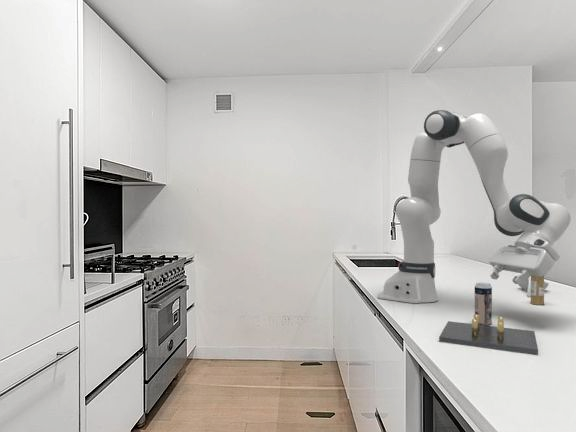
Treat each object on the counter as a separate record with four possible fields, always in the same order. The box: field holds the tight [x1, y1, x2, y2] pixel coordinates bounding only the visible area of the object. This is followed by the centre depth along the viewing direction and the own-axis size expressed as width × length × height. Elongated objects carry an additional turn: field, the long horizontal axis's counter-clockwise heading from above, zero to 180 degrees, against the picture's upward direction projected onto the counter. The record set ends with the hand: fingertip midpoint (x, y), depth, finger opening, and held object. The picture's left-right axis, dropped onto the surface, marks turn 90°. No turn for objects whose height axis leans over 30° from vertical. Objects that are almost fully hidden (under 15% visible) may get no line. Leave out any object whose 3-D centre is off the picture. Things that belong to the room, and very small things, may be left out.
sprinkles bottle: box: [529, 275, 545, 306], centre depth 156 cm, size 5×5×14 cm
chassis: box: [438, 314, 539, 356], centre depth 113 cm, size 22×18×5 cm
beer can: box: [473, 282, 493, 326], centre depth 128 cm, size 5×5×12 cm
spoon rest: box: [518, 277, 550, 298], centre depth 178 cm, size 24×12×7 cm, turn 152°
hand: (503, 280), depth 129 cm, fingers open, 8 cm apart
